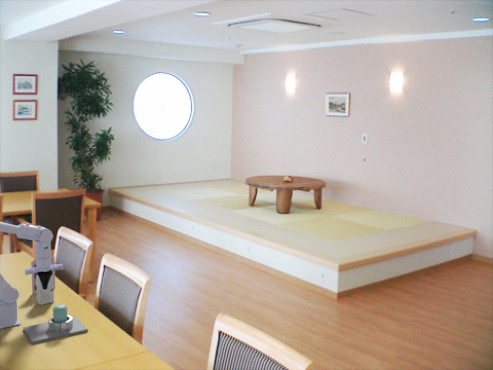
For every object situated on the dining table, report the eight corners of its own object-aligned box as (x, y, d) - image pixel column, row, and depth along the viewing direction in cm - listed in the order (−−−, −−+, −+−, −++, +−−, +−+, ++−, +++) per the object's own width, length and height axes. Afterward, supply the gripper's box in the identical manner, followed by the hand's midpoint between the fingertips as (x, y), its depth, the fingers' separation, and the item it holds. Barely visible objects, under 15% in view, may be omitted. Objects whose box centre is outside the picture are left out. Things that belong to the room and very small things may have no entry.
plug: (55, 330, 197) (55, 310, 196) (52, 326, 201) (51, 306, 200) (69, 328, 200) (68, 308, 199) (65, 323, 204) (64, 303, 203)
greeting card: (33, 294, 235) (32, 262, 233) (24, 290, 240) (23, 258, 237) (56, 287, 244) (55, 256, 242) (47, 284, 249) (46, 253, 246)
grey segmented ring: (52, 333, 195) (51, 325, 194) (46, 325, 202) (45, 317, 201) (75, 328, 200) (75, 320, 199) (68, 320, 207) (68, 313, 206)
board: (32, 344, 188) (32, 341, 188) (23, 329, 200) (23, 327, 200) (87, 331, 200) (87, 329, 200) (76, 318, 211) (76, 316, 211)
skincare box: (40, 305, 223) (39, 278, 222) (36, 302, 227) (35, 275, 225) (54, 301, 228) (53, 275, 226) (50, 298, 231) (49, 272, 229)
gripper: (26, 262, 205) (28, 295, 207) (64, 256, 213) (65, 288, 215) (22, 257, 210) (24, 289, 213) (59, 252, 219) (60, 283, 221)
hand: (44, 288), depth 214 cm, fingers closed
